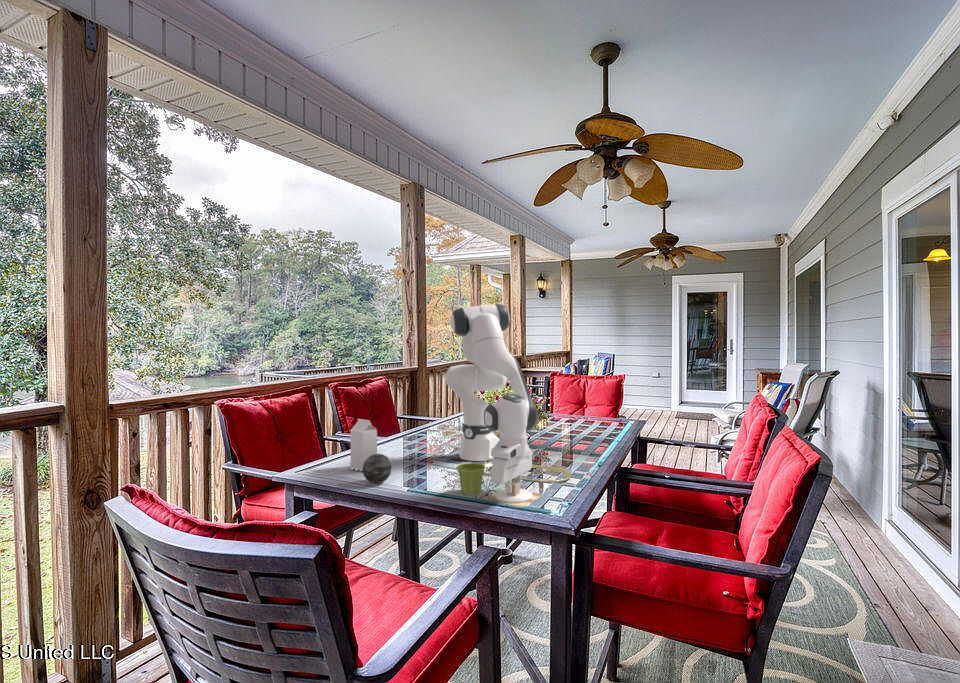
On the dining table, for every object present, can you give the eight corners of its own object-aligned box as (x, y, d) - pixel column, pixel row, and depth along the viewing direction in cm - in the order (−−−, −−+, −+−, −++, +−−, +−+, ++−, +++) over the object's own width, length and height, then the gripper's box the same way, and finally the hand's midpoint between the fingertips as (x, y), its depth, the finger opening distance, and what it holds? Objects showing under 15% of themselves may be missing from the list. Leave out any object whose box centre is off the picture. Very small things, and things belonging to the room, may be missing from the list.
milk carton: (362, 472, 182) (362, 421, 182) (350, 469, 186) (350, 420, 186) (377, 468, 188) (377, 419, 188) (365, 465, 192) (365, 417, 192)
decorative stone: (382, 476, 177) (381, 449, 176) (397, 482, 169) (397, 454, 169) (357, 482, 170) (357, 454, 170) (372, 489, 162) (372, 459, 162)
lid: (506, 488, 161) (506, 475, 161) (538, 494, 155) (538, 481, 155) (487, 498, 151) (487, 484, 151) (521, 505, 144) (521, 491, 144)
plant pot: (460, 499, 152) (460, 471, 152) (453, 490, 161) (453, 464, 161) (488, 496, 155) (488, 469, 154) (481, 487, 164) (480, 462, 163)
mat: (505, 488, 162) (505, 486, 162) (543, 496, 155) (543, 494, 155) (482, 500, 151) (482, 498, 151) (522, 509, 143) (522, 507, 143)
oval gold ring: (564, 488, 165) (564, 483, 165) (470, 476, 178) (470, 472, 178) (576, 473, 182) (576, 469, 182) (489, 464, 196) (489, 460, 196)
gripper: (519, 439, 163) (519, 480, 163) (487, 452, 146) (487, 498, 146) (536, 441, 160) (536, 483, 160) (506, 454, 142) (506, 501, 143)
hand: (513, 490), depth 153 cm, fingers closed on lid, 3 cm apart
